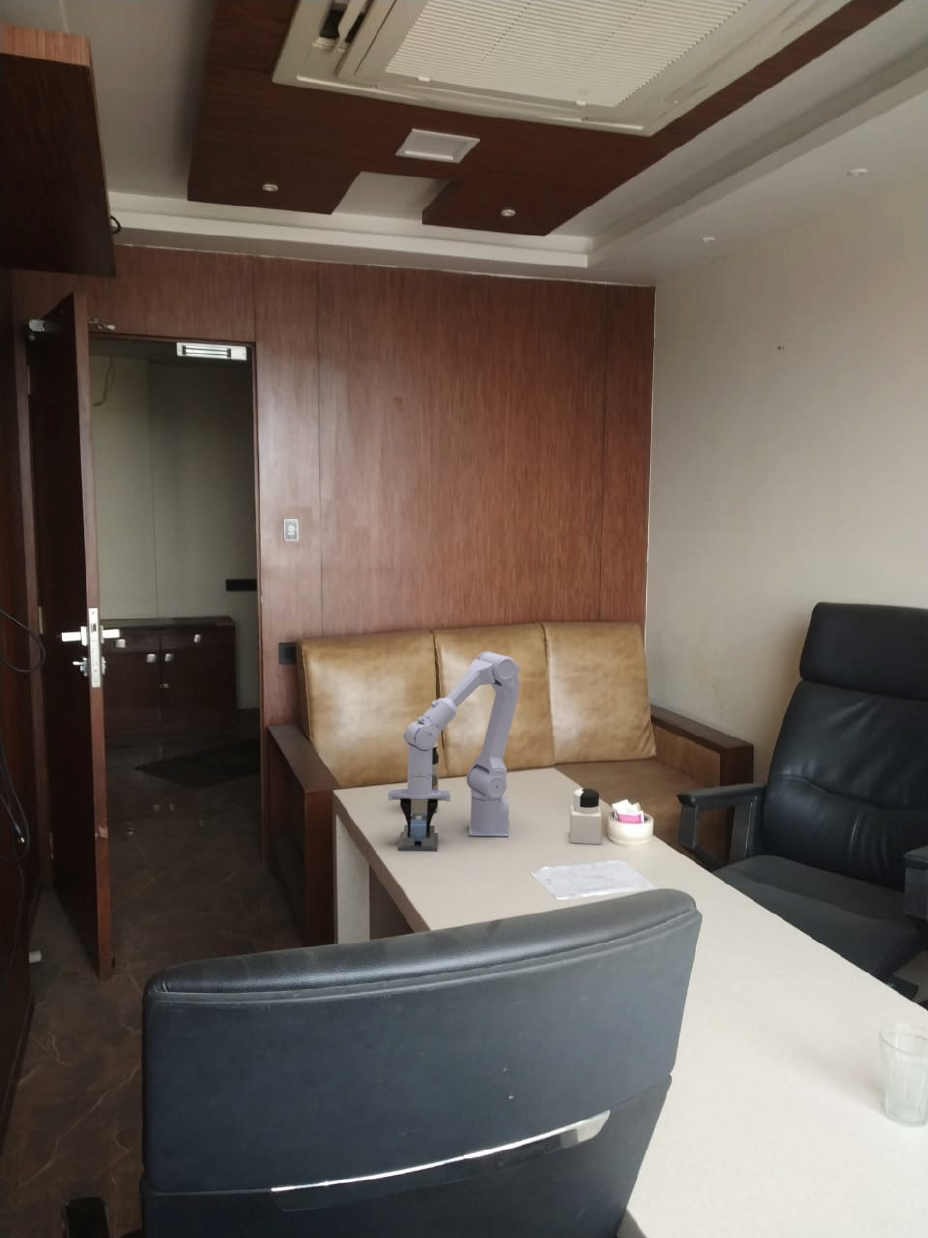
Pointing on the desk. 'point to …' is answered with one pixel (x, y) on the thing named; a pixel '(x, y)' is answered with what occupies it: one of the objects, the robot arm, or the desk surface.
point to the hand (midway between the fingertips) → (418, 830)
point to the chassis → (424, 845)
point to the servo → (418, 825)
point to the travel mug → (421, 805)
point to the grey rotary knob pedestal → (585, 817)
